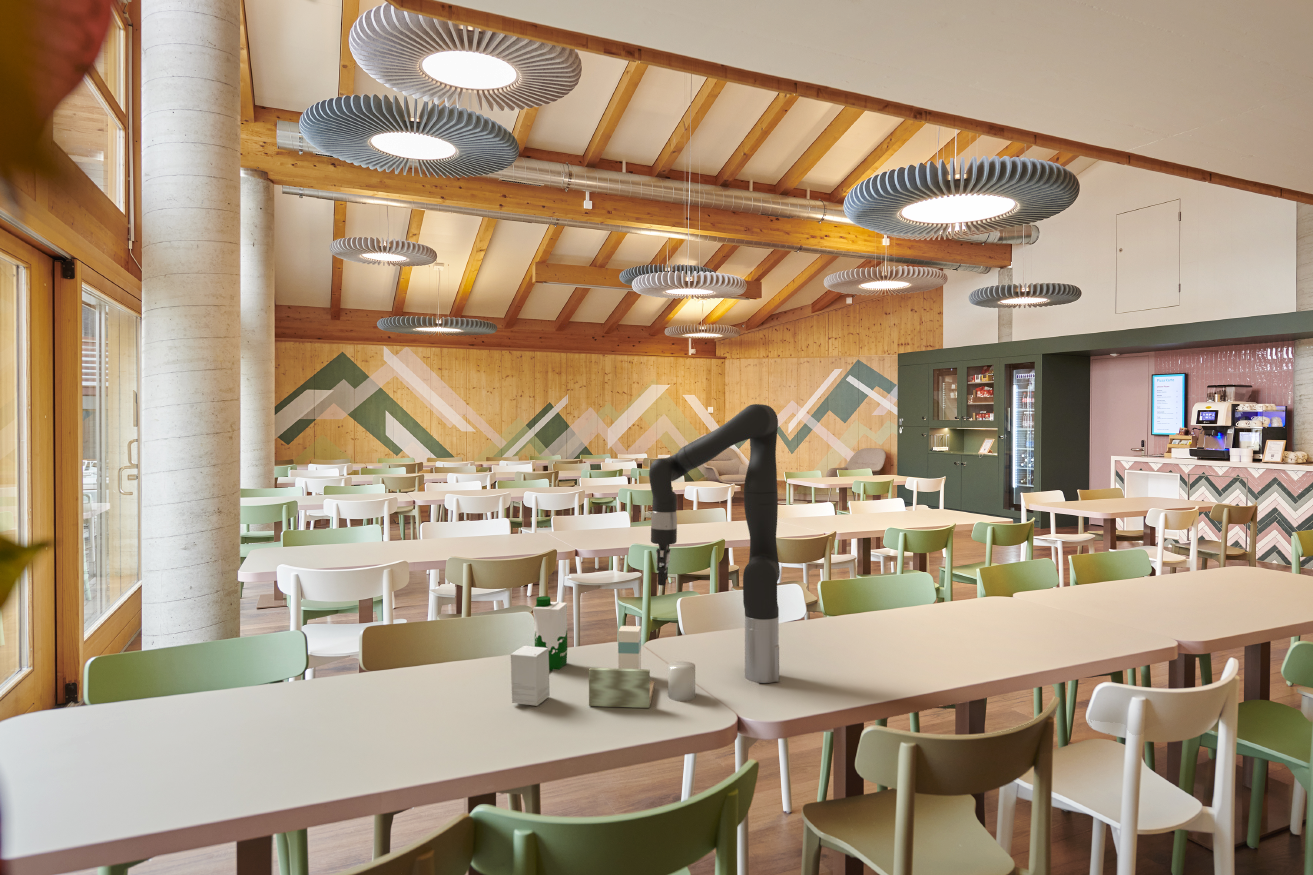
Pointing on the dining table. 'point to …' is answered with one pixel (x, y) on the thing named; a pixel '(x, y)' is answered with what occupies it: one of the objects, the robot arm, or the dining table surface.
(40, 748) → the dining table surface
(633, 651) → the oat carton
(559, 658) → the milk carton
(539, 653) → the supplement box
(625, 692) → the display bay
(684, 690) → the white tapered tumbler
